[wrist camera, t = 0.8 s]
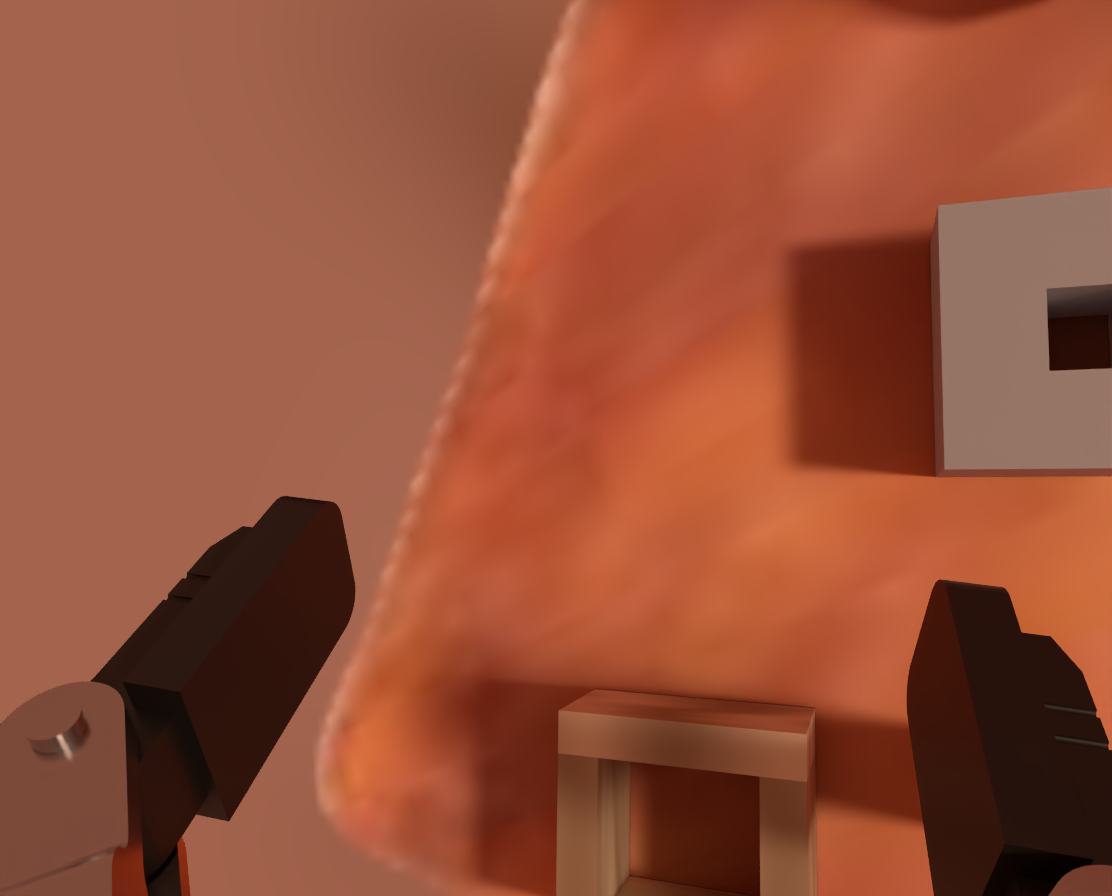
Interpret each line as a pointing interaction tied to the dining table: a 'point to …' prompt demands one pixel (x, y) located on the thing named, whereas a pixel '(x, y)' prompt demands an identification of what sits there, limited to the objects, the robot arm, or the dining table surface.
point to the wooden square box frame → (688, 742)
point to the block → (1019, 335)
